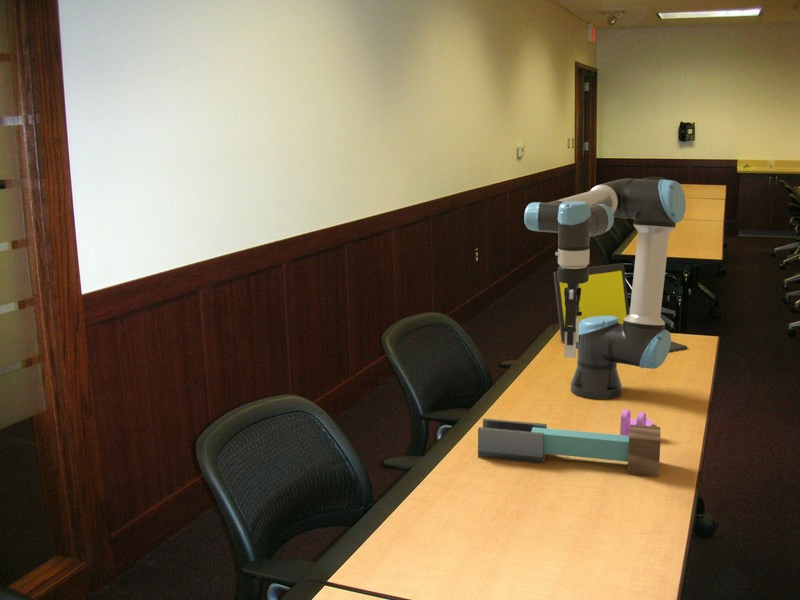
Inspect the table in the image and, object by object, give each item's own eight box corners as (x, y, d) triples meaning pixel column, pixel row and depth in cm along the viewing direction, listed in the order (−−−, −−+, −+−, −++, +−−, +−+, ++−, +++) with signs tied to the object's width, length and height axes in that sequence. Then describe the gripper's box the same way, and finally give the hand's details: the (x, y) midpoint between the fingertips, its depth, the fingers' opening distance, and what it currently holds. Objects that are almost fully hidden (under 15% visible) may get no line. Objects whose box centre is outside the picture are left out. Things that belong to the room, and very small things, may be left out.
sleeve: (483, 446, 214) (483, 418, 212) (546, 452, 209) (546, 424, 208) (477, 457, 207) (478, 428, 205) (542, 463, 202) (543, 434, 201)
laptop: (615, 364, 282) (618, 288, 276) (551, 340, 312) (553, 271, 307) (687, 350, 297) (691, 277, 291) (619, 328, 327) (622, 263, 321)
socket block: (628, 458, 204) (630, 424, 202) (658, 461, 202) (660, 426, 200) (627, 473, 196) (629, 438, 194) (658, 477, 194) (660, 440, 192)
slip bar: (532, 445, 208) (532, 427, 207) (640, 456, 201) (641, 436, 200) (530, 452, 204) (530, 433, 203) (640, 462, 197) (641, 443, 196)
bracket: (641, 440, 216) (642, 415, 214) (620, 436, 219) (621, 411, 217) (655, 425, 227) (656, 400, 225) (635, 421, 229) (636, 397, 228)
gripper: (561, 255, 215) (559, 334, 220) (553, 275, 192) (552, 363, 197) (590, 256, 214) (588, 335, 219) (586, 276, 190) (584, 365, 195)
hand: (571, 349), depth 208 cm, fingers open, 13 cm apart
